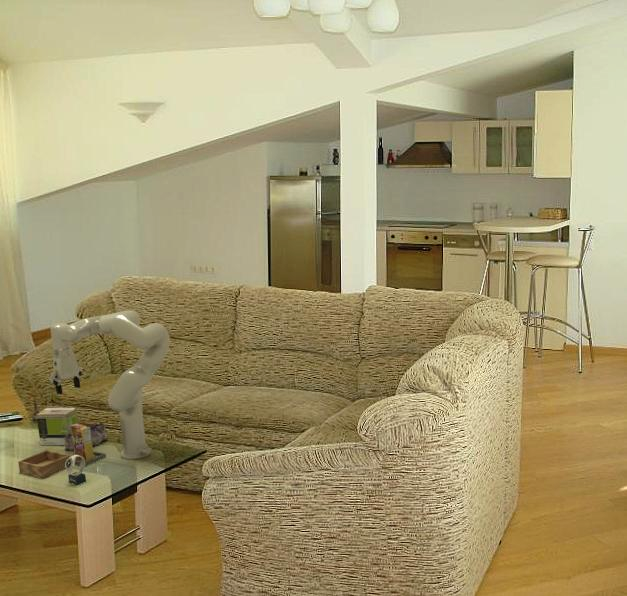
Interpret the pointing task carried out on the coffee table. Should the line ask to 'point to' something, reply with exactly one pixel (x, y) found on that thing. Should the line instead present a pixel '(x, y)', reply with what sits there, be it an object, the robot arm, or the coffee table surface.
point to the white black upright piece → (77, 476)
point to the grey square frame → (100, 456)
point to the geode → (96, 434)
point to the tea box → (55, 424)
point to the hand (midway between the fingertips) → (68, 390)
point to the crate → (43, 464)
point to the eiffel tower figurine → (34, 419)
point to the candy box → (82, 441)
